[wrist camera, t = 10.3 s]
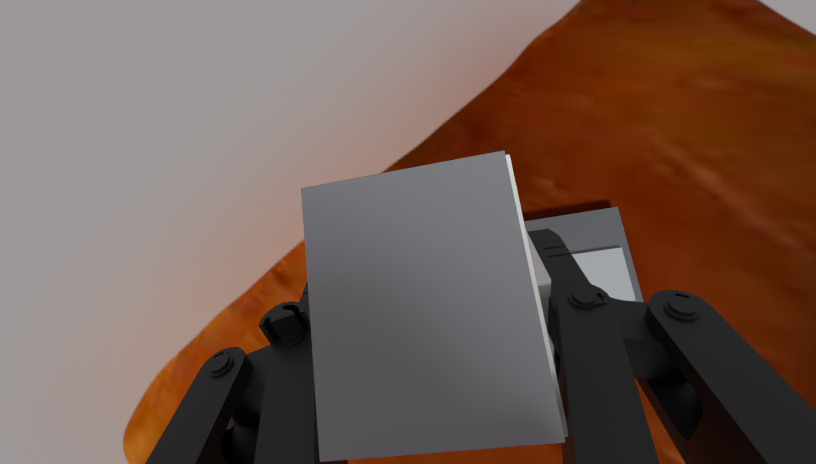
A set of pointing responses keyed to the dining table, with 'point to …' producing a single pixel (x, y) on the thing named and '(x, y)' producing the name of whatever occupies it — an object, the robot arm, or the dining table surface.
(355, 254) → the plug
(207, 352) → the dining table surface
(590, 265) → the grey socket base plate
